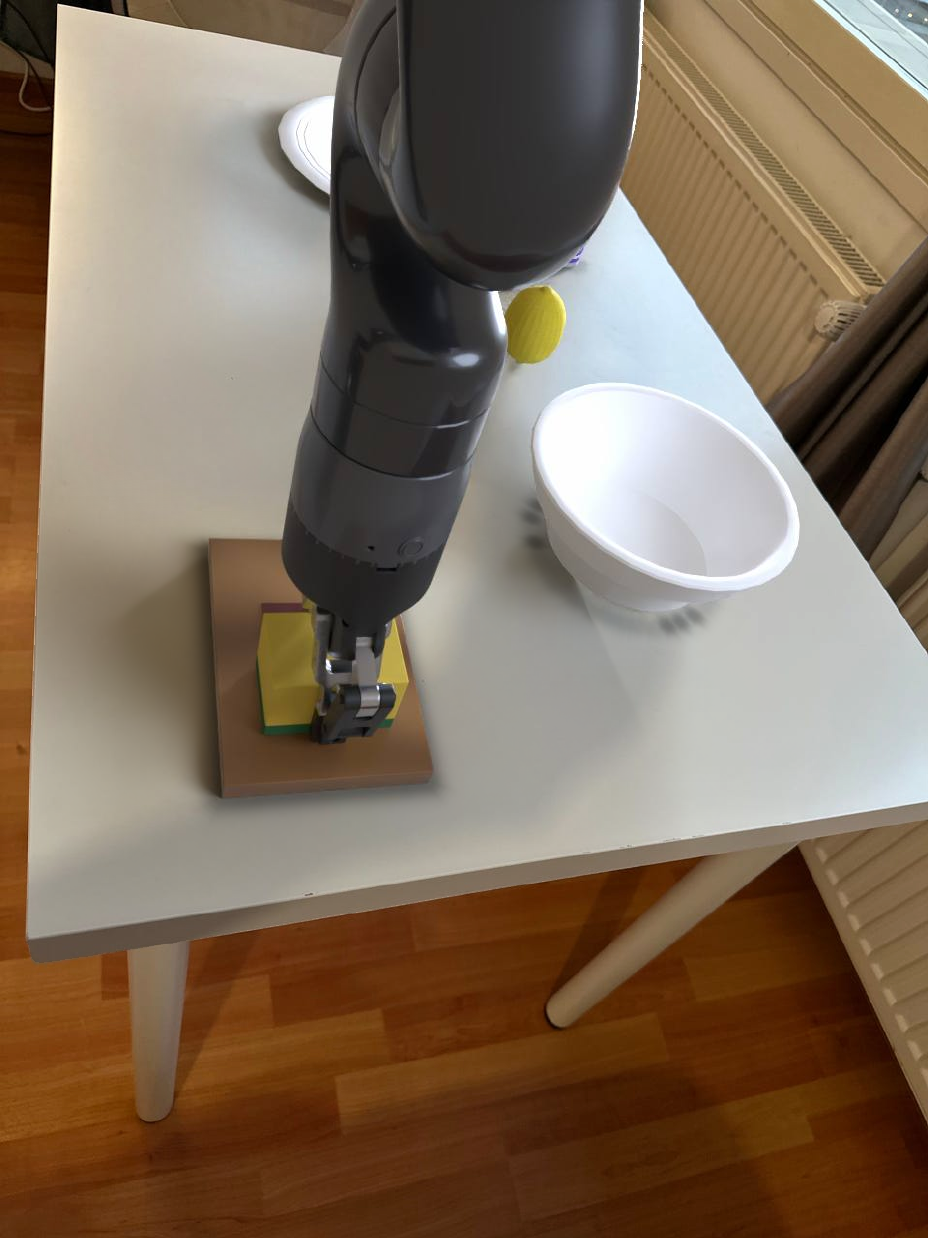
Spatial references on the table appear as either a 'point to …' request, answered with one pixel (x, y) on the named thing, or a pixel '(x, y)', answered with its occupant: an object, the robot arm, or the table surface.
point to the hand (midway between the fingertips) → (321, 694)
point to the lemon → (534, 324)
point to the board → (248, 759)
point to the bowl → (658, 498)
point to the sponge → (306, 673)
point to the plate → (309, 139)
